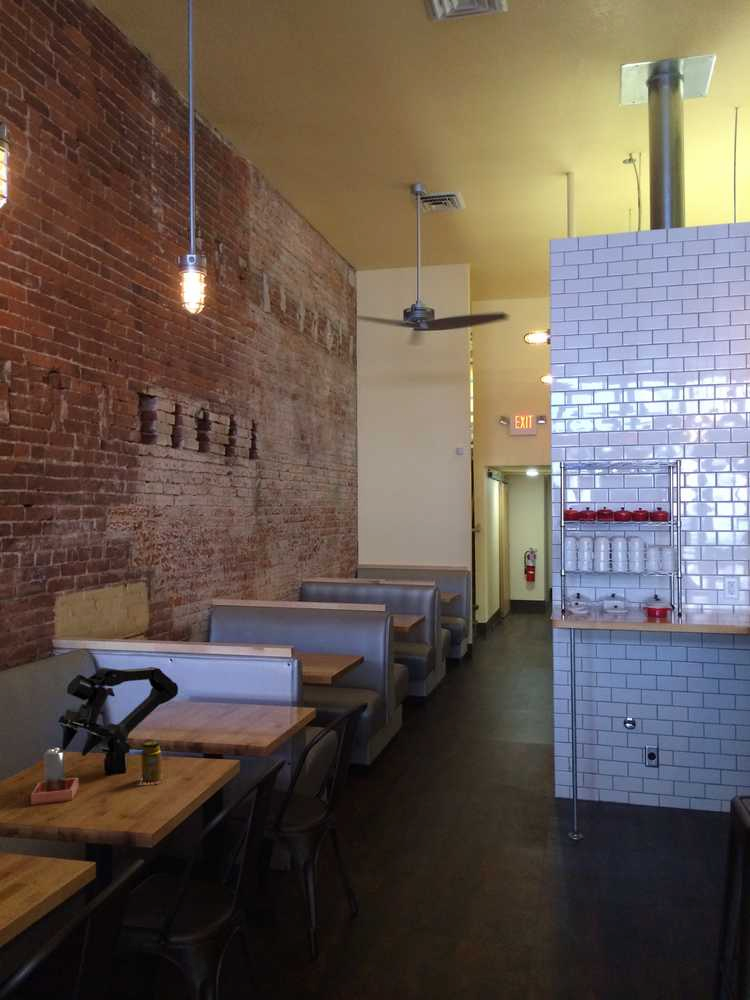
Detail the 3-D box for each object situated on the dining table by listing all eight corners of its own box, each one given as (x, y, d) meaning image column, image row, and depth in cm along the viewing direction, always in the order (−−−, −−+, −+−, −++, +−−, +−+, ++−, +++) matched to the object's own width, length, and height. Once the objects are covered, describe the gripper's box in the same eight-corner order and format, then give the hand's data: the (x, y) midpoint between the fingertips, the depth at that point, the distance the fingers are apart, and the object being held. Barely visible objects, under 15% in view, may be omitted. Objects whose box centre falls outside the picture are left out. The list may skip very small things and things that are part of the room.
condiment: (165, 775, 255) (164, 739, 255) (159, 785, 246) (157, 746, 246) (143, 777, 254) (141, 740, 255) (135, 786, 246) (134, 748, 246)
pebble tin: (69, 790, 242) (67, 746, 243) (57, 797, 237) (55, 751, 237) (54, 789, 244) (52, 745, 244) (41, 796, 239) (40, 751, 239)
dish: (78, 787, 247) (78, 777, 247) (72, 800, 236) (72, 790, 236) (39, 791, 245) (39, 781, 245) (31, 804, 234) (31, 794, 234)
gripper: (57, 692, 254) (35, 739, 248) (97, 703, 245) (75, 752, 239) (81, 702, 263) (60, 748, 257) (120, 713, 254) (99, 761, 247)
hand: (72, 752), depth 250 cm, fingers open, 9 cm apart
